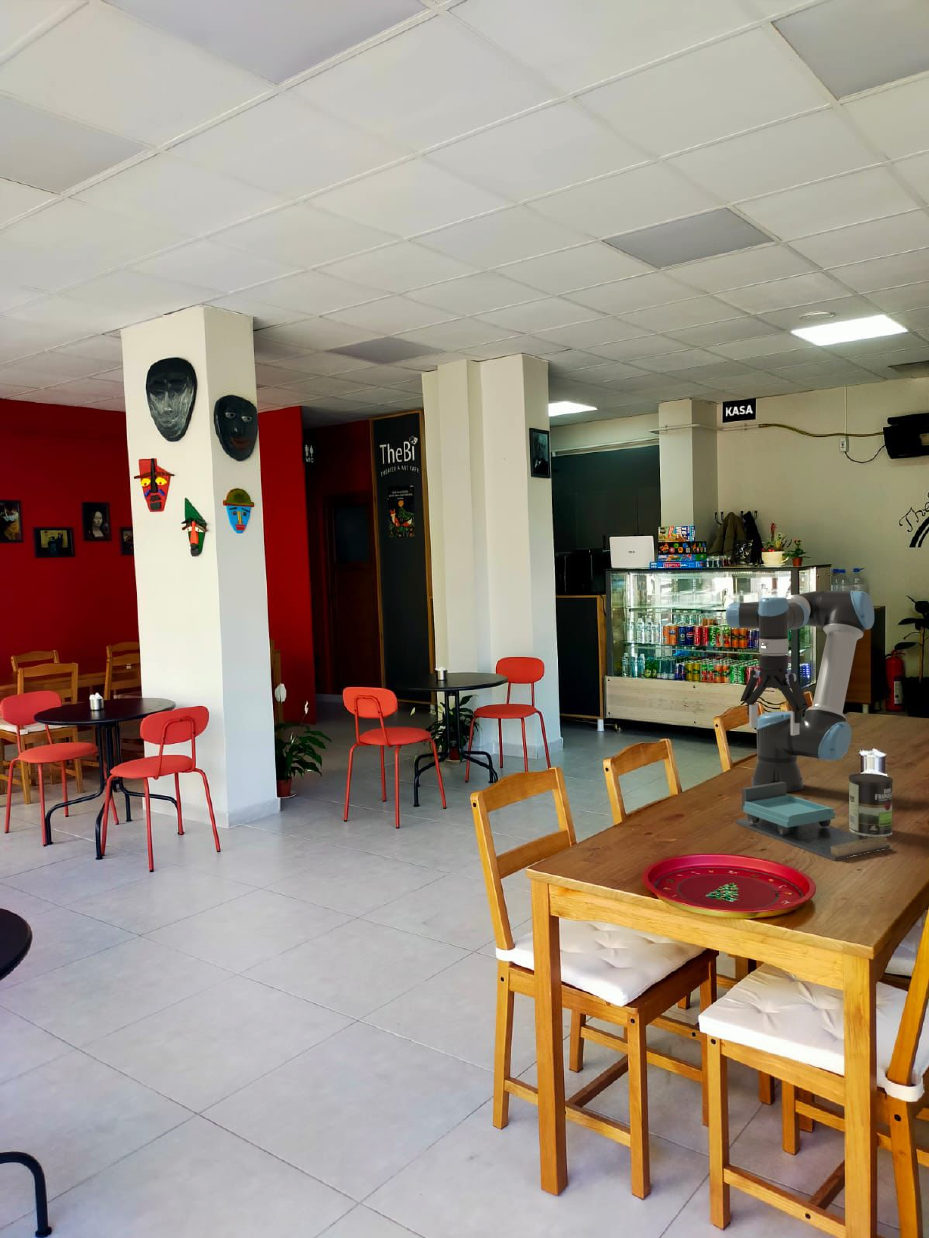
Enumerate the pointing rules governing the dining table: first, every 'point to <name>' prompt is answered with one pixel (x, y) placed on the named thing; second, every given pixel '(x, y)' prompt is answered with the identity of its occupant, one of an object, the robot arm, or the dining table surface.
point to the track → (820, 839)
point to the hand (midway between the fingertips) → (773, 731)
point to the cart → (782, 807)
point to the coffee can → (870, 804)
